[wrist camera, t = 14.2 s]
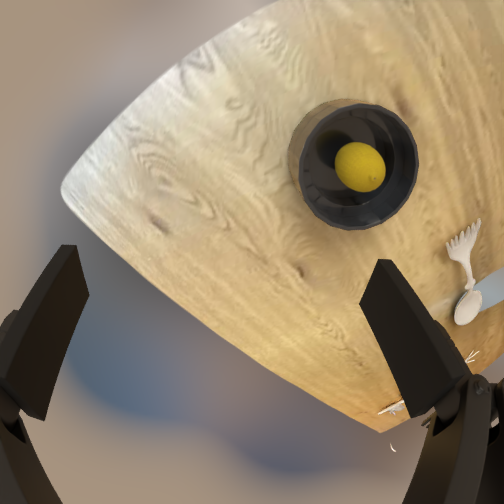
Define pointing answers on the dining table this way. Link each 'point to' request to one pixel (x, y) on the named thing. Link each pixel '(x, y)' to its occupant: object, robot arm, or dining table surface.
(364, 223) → the black mixing bowl
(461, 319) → the back scratcher
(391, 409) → the dried plant stem
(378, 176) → the lemon
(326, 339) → the dining table surface
